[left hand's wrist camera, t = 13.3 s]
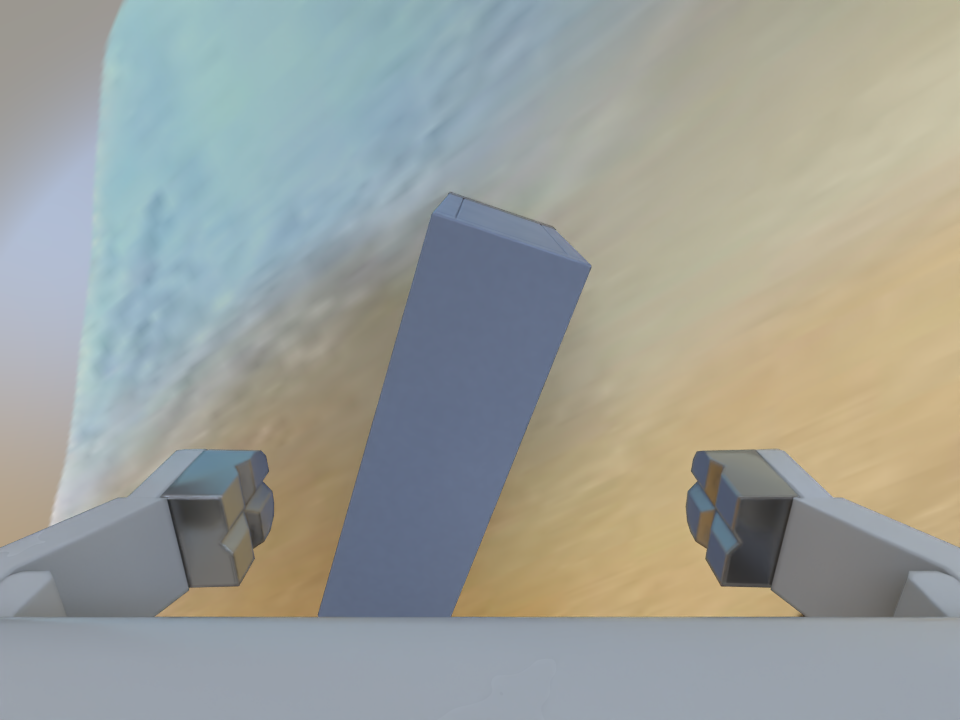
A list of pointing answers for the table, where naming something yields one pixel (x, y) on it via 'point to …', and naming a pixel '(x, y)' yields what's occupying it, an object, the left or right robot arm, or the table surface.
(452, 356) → the cabinet
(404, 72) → the table surface
